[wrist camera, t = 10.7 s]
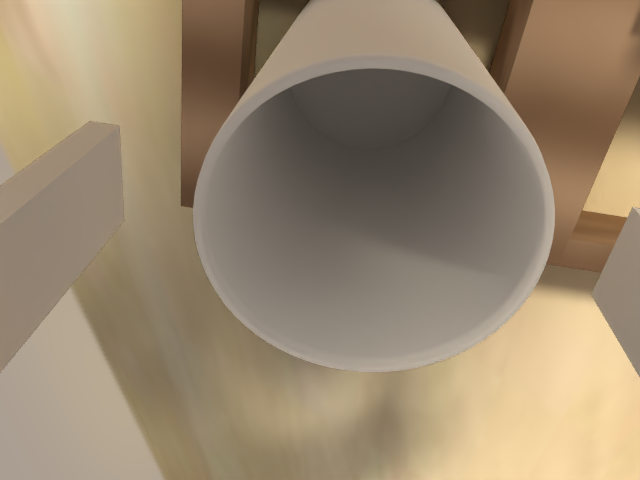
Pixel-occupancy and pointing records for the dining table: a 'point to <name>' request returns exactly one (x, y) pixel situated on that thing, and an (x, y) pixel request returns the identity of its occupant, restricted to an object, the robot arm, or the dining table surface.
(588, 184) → the board
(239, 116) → the cup
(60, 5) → the dining table surface
